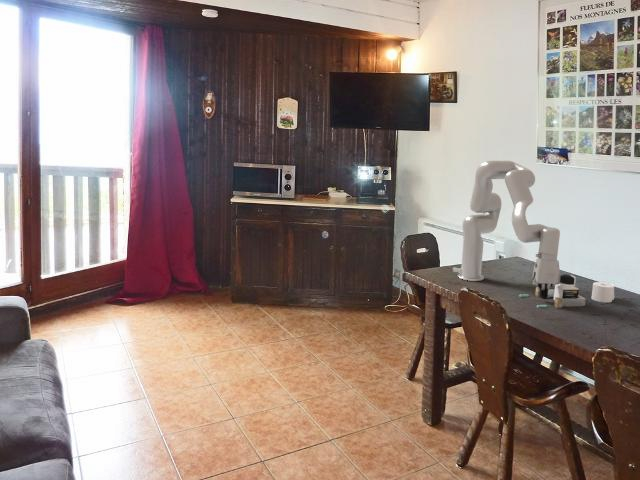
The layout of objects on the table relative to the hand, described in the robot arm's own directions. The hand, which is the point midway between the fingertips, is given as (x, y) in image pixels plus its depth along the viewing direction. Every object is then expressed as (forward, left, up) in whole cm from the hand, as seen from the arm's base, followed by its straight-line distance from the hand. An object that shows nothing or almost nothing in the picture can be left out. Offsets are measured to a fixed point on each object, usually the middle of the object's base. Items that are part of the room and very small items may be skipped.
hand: (543, 297), depth 240 cm
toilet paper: (+23, +20, -2) cm, 31 cm away
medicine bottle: (+8, +5, -2) cm, 10 cm away
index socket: (+7, +6, -2) cm, 9 cm away
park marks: (-4, -3, -2) cm, 5 cm away
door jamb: (+2, +1, -2) cm, 3 cm away
